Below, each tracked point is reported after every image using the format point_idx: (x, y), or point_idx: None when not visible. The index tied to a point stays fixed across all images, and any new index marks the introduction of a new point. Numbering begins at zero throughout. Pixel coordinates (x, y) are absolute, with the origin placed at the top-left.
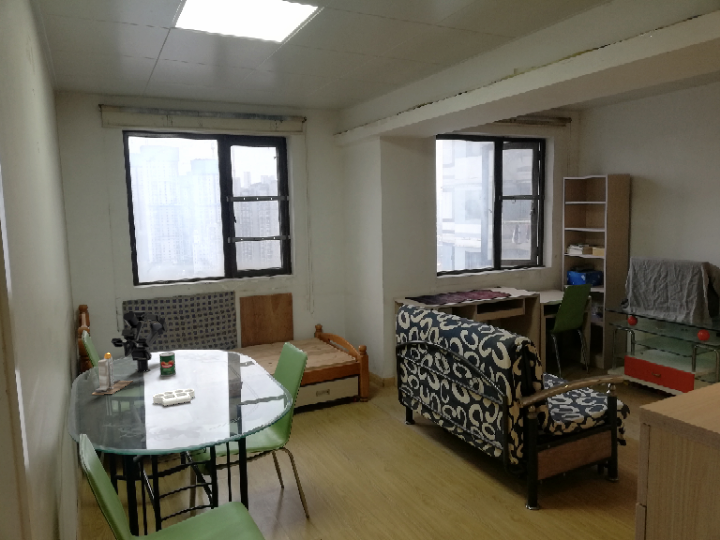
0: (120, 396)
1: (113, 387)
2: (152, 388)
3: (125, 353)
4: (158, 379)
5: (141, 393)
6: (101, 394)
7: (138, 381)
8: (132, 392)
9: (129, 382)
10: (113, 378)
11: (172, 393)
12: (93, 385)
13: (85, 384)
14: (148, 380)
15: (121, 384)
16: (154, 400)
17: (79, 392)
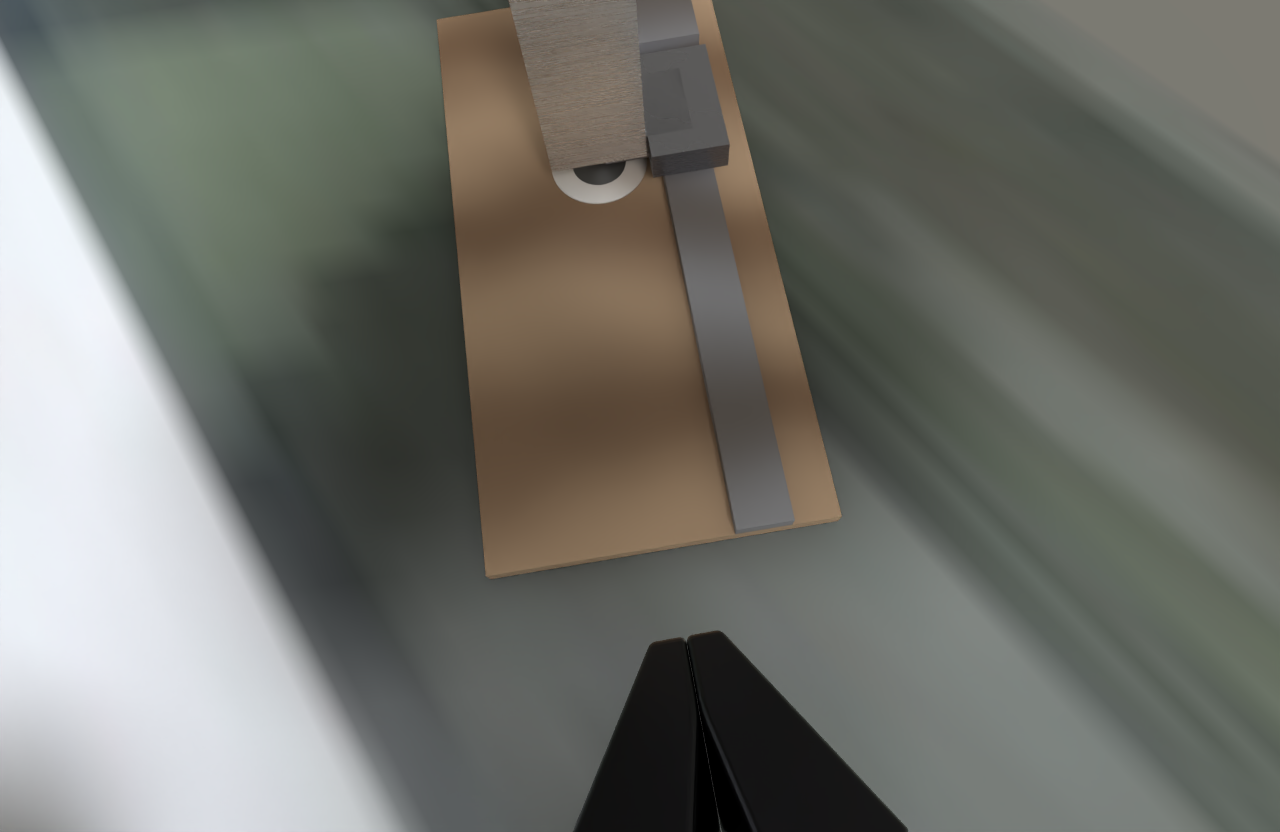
0: (299, 7)
1: (588, 211)
2: (6, 323)
3: (726, 697)
4: (78, 804)
5: (82, 130)
6: None
7: (409, 621)
8: (222, 141)
9: (490, 470)
10: (530, 79)
11: None
12: (1047, 303)
13: (1238, 326)
14: (249, 710)
15: (561, 354)
16: None
17: (958, 29)
